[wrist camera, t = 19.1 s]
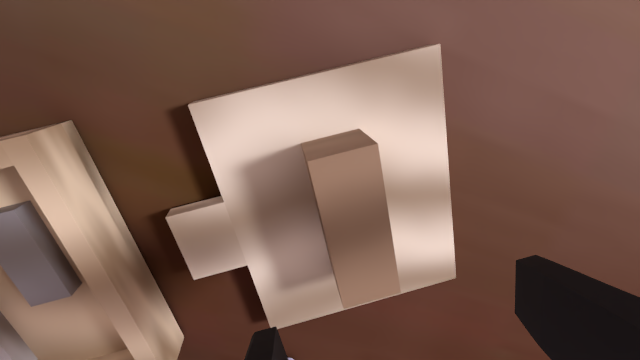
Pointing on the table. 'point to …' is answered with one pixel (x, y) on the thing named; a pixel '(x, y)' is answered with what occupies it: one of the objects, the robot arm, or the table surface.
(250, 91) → the lid
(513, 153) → the table surface
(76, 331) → the wooden tray
